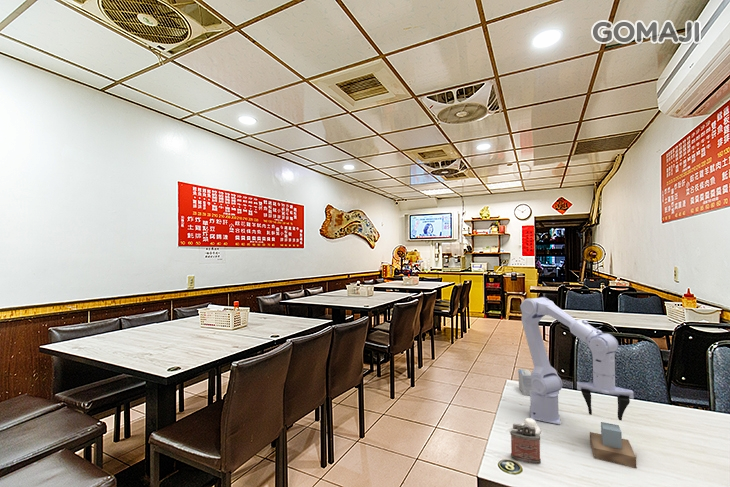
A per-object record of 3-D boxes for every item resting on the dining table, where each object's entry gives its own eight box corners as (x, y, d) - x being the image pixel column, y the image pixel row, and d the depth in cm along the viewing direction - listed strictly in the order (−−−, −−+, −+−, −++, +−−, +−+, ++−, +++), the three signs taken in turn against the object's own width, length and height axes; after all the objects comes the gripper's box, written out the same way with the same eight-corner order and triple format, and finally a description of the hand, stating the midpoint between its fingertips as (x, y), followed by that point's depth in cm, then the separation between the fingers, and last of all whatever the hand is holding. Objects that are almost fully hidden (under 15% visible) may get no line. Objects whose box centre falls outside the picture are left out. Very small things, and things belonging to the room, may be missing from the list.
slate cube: (603, 445, 101) (603, 428, 101) (601, 438, 105) (600, 421, 105) (622, 449, 99) (621, 432, 99) (619, 441, 103) (618, 425, 103)
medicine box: (534, 396, 143) (533, 375, 143) (523, 395, 144) (522, 375, 144) (529, 388, 151) (528, 369, 151) (518, 388, 151) (518, 368, 152)
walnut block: (594, 458, 100) (593, 447, 100) (589, 441, 109) (589, 431, 109) (636, 468, 95) (636, 457, 95) (628, 449, 104) (628, 439, 104)
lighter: (539, 458, 100) (539, 424, 100) (541, 465, 96) (541, 430, 97) (510, 453, 102) (509, 420, 103) (511, 460, 99) (510, 425, 99)
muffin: (521, 443, 108) (520, 421, 108) (519, 433, 113) (519, 412, 114) (542, 447, 106) (542, 424, 106) (539, 437, 111) (539, 415, 112)
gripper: (577, 373, 106) (578, 416, 106) (635, 381, 100) (636, 427, 99) (576, 366, 113) (576, 407, 112) (630, 373, 106) (631, 417, 105)
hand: (604, 416), depth 106 cm, fingers open, 7 cm apart
